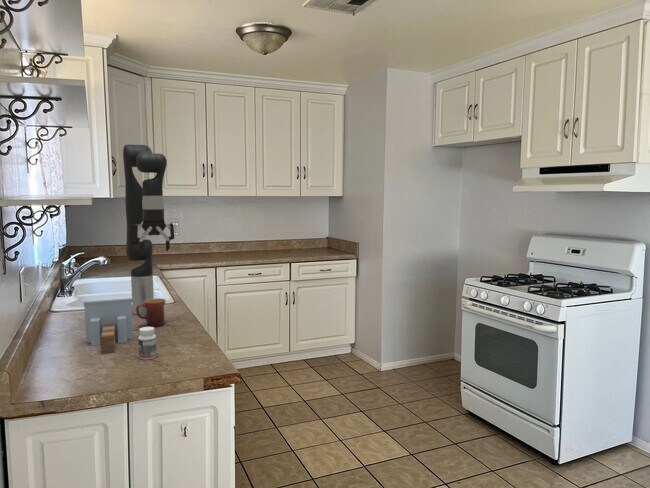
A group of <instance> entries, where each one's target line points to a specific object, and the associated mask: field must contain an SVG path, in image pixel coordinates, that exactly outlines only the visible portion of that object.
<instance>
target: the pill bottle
mask: <svg viewBox="0 0 650 488" xmlns="http://www.w3.org/2000/svg"><path fill="white" fill-rule="evenodd" d="M139 334H140V335H139V336H138V356H139V359H141V360H144V361H145V360H146V361H147V360H152V359H155V358H156V357H157V355H158V348H157V335H156V334H155V327H150V326H143V327H141V328H139Z"/></svg>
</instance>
